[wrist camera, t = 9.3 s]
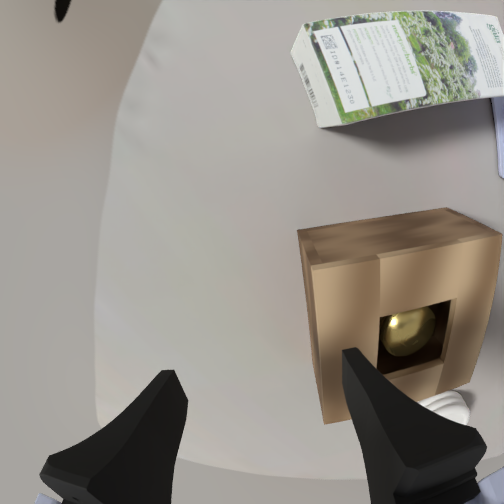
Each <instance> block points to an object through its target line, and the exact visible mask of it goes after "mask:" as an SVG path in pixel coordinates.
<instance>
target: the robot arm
mask: <svg viewBox="0 0 504 504" xmlns="http://www.w3.org/2000/svg"><path fill="white" fill-rule="evenodd" d="M491 101H492V107H493V114H494V121H495V129H496V139H497V151H498V170H499V176H500V177H501V178H504V96H502V97H491ZM342 385H343V390H344V395H345V399H346V404H347V407H348V410H349V412H350V415H351V418H352V421H353V424H354V427H355V430H356V433H357V436H358V439H359V442H360V445H361V449H362V453H363V458H364V463H365V468H366V474H367V480H368V485H369V492H370V499H371V504H504V467H502V468H500V469H499V470H497V471H495V472H494V473H492V474H490V475H488V476H487V477H485V478H483V479H482V480H481V481H479V482H478V483H477V481H476V479H475V477H476V476H477V472H476V470H475V467H476V465H477V464H478V463H479V461H480V460H481V459H482V457H483V456H484V454H485V452H486V449H487V446H486V444H485V442H484V440H483V438H482V437H481V435H480V434H479V432H478V431H477V430H476V428H473V427H470V426H467V425H464V424H460V423H457V422H455V421H452V420H450V419H447V418H445V417H443V416H440V415H439V414H437V413H435V412H433V411H431V410H429V409H427V408H425V407H424V406H422V405H420V404H419V403H417V402H416V401H414V400H413V399H411V398H410V397H408V396H407V395H406V394H404V393H403V392H402V391H400V390H399V389H398V388H397V387H396V386H394V385H393V384H392V383H391V382H390V381H389V380H388V379H386V378H385V377H384V376H383V375H382V374H381V373H380V372H379V371H378V370H377V369H376V368H375V367H374V366H373V365H372V364H371V363H370V361H369V360H368V359H367V358H366V357H365V356H364V355H363V354H362V352H361V351H360V350H359V349H358V348H357V347H354V348H349V349H344V350H342ZM187 408H188V399H187V397H186V395H185V393H184V390H183V388H182V386H181V384H180V382H179V380H178V377H177V375H176V373H175V371H174V370H162V371H161V372H160V373H159V374H158V375H157V376H156V377H155V378H154V379H153V380H152V381H151V382H150V384H149V385H148V386H147V387H146V388H145V389H144V390H143V391H142V392H141V393H140V395H139V396H138V397H137V398H136V399H135V400H134V401H133V402H132V403H131V404H130V405H129V406H128V407H127V408H126V409H125V410H124V411H123V412H122V413H121V414H120V415H118V416H117V417H116V418H115V419H114V420H113V421H111V422H110V423H109V424H107V425H106V426H105V427H104V428H102V429H101V430H99V431H98V432H96V433H95V434H93V435H92V436H90V437H89V438H87V439H85V440H84V441H82V442H80V443H78V444H76V445H74V446H72V447H70V448H68V449H65V450H63V451H60V452H58V453H55V454H53V455H50V456H49V457H48V459H47V461H46V463H45V465H44V467H43V469H42V471H41V473H40V478H41V480H42V481H43V482H44V483H45V484H46V485H47V486H48V487H50V488H51V489H52V490H53V491H54V492H56V493H57V494H58V495H59V496H61V497H62V498H63V502H62V503H61V502H59V501H57V500H55V499H53V498H50V497H48V496H46V495H44V494H41V493H39V494H38V497H37V499H36V501H35V503H34V504H171V494H172V482H173V473H174V465H175V461H176V457H177V453H178V449H179V445H180V441H181V438H182V434H183V430H184V426H185V422H186V416H187Z"/></svg>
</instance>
